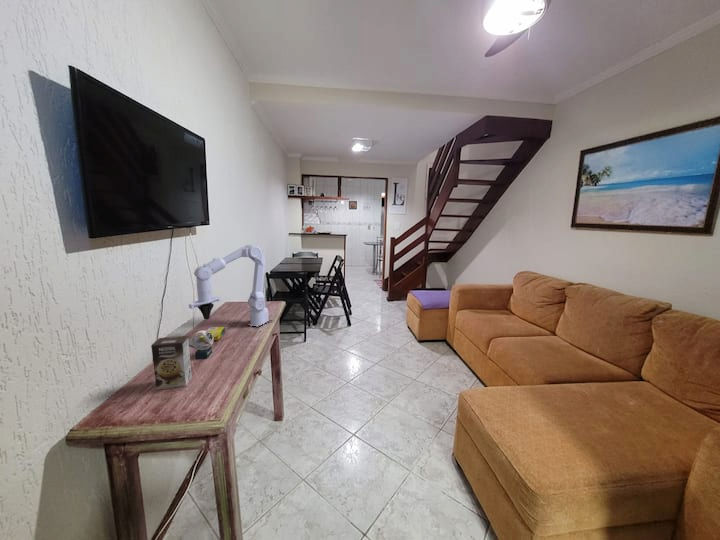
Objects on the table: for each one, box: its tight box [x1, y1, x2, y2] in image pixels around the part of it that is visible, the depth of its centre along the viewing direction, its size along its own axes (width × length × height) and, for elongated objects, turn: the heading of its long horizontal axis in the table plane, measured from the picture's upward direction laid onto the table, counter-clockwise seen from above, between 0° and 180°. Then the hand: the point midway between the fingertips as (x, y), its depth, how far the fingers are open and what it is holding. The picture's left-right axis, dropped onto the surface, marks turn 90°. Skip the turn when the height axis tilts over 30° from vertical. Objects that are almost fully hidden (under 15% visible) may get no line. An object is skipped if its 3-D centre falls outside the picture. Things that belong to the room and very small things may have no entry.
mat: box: [188, 334, 224, 348], centre depth 126 cm, size 14×10×1 cm
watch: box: [190, 329, 215, 360], centre depth 110 cm, size 6×8×11 cm
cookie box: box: [150, 335, 193, 391], centre depth 91 cm, size 9×6×16 cm
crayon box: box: [200, 326, 226, 341], centre depth 127 cm, size 7×3×12 cm
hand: (206, 318), depth 128 cm, fingers closed
